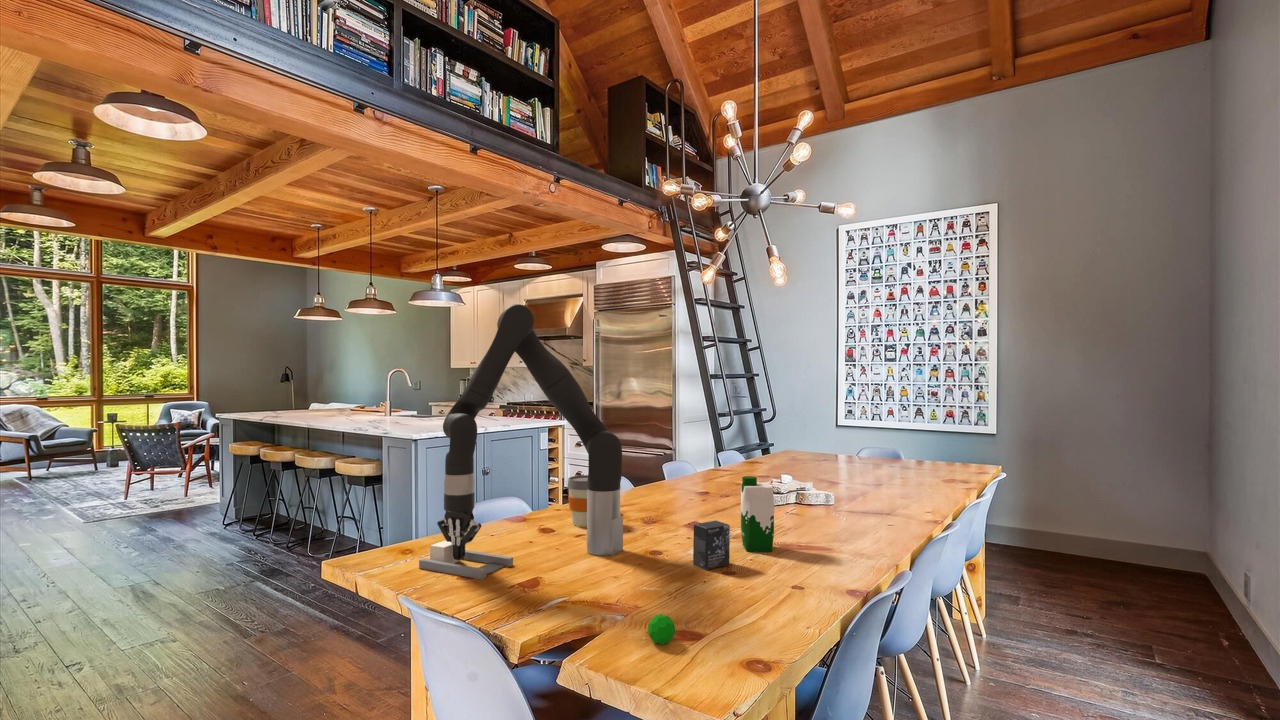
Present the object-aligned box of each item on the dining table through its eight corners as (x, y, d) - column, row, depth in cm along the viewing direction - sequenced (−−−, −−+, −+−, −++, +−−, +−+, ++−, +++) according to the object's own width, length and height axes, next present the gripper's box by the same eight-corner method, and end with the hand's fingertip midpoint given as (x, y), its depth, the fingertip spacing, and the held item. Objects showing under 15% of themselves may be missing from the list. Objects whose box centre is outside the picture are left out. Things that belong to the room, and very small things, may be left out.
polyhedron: (659, 651, 105) (659, 623, 106) (642, 641, 109) (642, 614, 110) (680, 644, 108) (680, 617, 108) (664, 634, 112) (664, 608, 112)
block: (460, 560, 157) (460, 541, 157) (443, 567, 152) (444, 547, 152) (446, 558, 159) (447, 539, 159) (430, 565, 153) (430, 545, 154)
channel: (512, 565, 153) (513, 557, 154) (481, 579, 143) (482, 571, 143) (452, 555, 162) (452, 547, 162) (419, 568, 151) (419, 560, 151)
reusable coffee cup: (608, 519, 203) (608, 475, 203) (602, 529, 190) (602, 481, 191) (571, 518, 204) (571, 474, 205) (563, 528, 192) (563, 481, 192)
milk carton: (739, 544, 174) (738, 474, 174) (770, 544, 173) (770, 474, 174) (743, 552, 165) (743, 479, 165) (776, 553, 165) (776, 480, 165)
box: (706, 570, 149) (706, 528, 150) (692, 565, 154) (692, 523, 154) (730, 565, 154) (730, 524, 154) (715, 559, 158) (715, 519, 159)
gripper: (489, 490, 154) (489, 558, 154) (449, 486, 160) (449, 552, 159) (469, 495, 148) (469, 566, 147) (428, 491, 153) (428, 560, 152)
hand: (458, 559), depth 153 cm, fingers closed
